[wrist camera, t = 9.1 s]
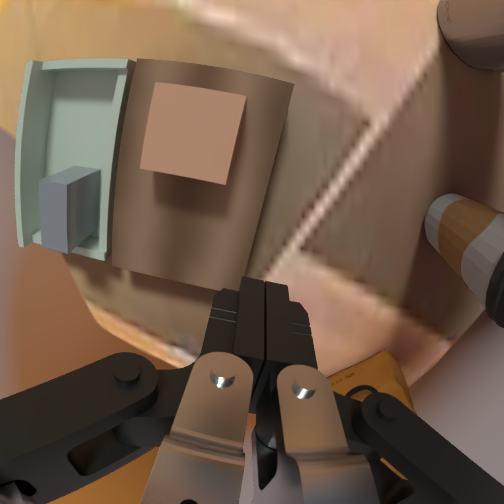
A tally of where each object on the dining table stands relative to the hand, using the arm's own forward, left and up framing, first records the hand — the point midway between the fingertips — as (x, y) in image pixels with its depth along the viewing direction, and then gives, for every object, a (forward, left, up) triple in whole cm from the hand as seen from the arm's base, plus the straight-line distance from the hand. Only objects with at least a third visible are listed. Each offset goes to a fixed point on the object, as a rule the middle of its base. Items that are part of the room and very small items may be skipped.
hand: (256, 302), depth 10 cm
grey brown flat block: (+5, 0, -18) cm, 19 cm away
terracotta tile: (+5, -4, -14) cm, 16 cm away
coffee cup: (-21, -2, -18) cm, 28 cm away
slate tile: (+14, +4, -14) cm, 21 cm away
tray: (+17, 0, -18) cm, 25 cm away
